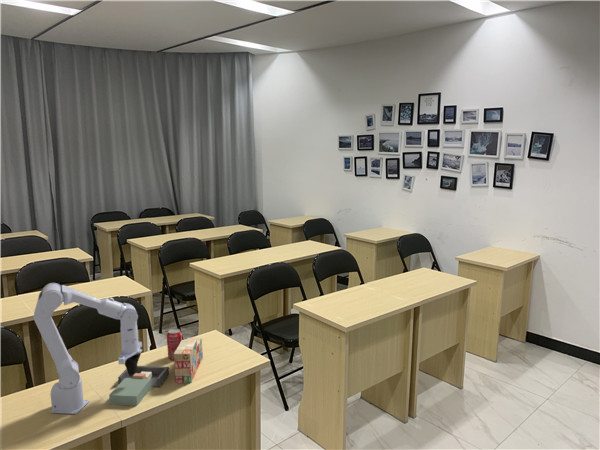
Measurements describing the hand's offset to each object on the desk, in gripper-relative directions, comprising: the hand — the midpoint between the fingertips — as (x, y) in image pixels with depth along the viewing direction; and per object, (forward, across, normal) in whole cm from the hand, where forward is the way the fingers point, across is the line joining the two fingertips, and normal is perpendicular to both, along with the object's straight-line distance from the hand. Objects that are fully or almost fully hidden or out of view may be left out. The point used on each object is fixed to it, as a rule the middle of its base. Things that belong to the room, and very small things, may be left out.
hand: (132, 373), depth 166 cm
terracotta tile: (+5, +4, 0) cm, 7 cm away
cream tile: (+5, +9, 0) cm, 11 cm away
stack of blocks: (+8, +19, -15) cm, 25 cm away
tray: (+8, +9, 0) cm, 12 cm away
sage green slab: (+8, -2, 0) cm, 8 cm away
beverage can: (+8, +29, -5) cm, 31 cm away
